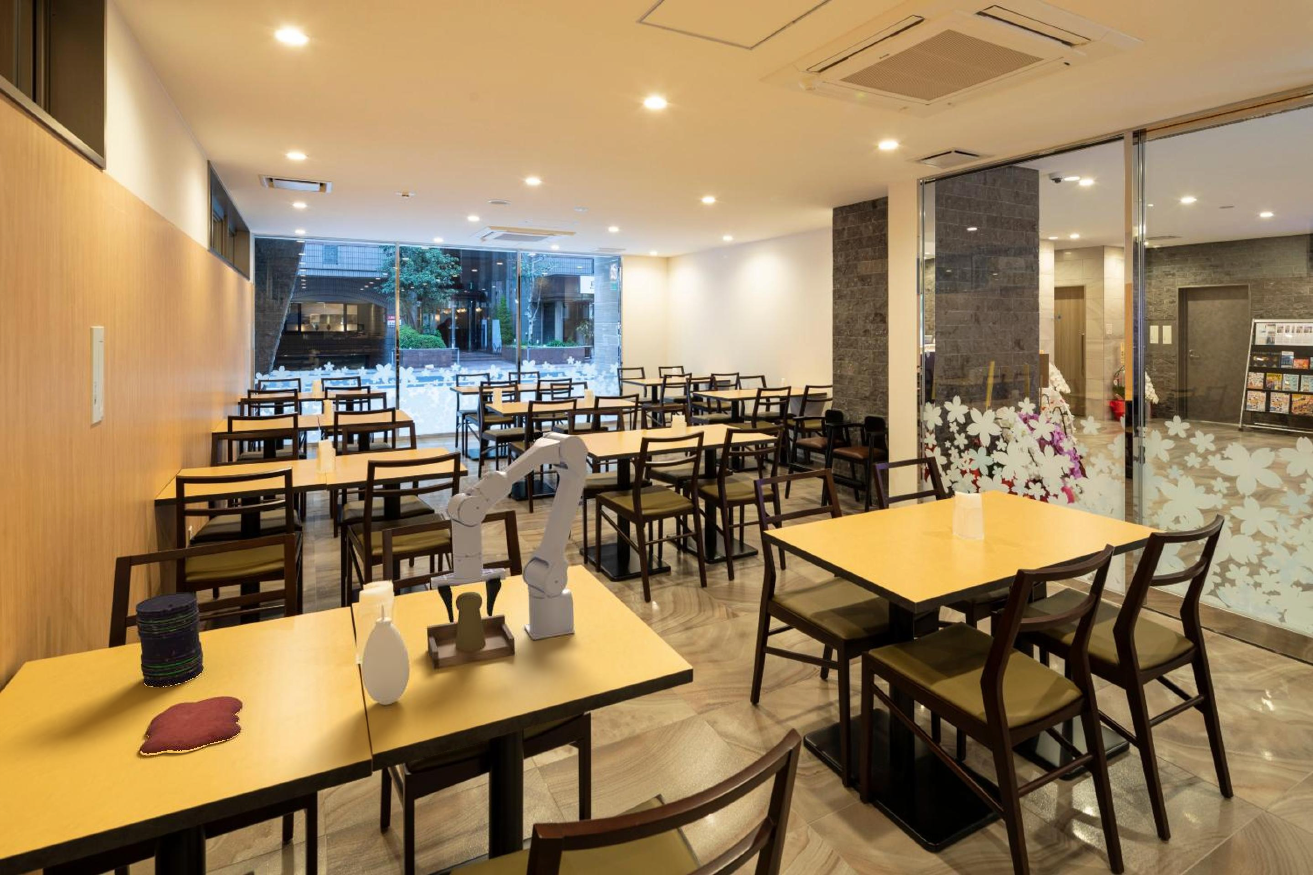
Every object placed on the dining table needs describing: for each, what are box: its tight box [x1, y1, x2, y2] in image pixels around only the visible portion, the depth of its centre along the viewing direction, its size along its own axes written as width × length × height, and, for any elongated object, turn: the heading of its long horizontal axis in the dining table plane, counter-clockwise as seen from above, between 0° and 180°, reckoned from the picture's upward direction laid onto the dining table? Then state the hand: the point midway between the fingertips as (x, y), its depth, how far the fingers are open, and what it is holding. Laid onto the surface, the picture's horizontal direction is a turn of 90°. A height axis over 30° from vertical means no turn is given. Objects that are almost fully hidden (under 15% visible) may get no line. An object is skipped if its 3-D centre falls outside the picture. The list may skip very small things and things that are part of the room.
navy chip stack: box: [135, 592, 205, 688], centre depth 135 cm, size 10×10×15 cm
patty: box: [139, 695, 243, 754], centre depth 118 cm, size 18×14×2 cm
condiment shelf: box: [426, 613, 516, 670], centre depth 146 cm, size 16×10×5 cm, turn 114°
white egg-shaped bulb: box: [361, 604, 411, 706], centre depth 125 cm, size 8×8×18 cm
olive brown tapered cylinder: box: [455, 591, 486, 652], centre depth 144 cm, size 6×6×11 cm
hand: (470, 617), depth 144 cm, fingers open, 7 cm apart
